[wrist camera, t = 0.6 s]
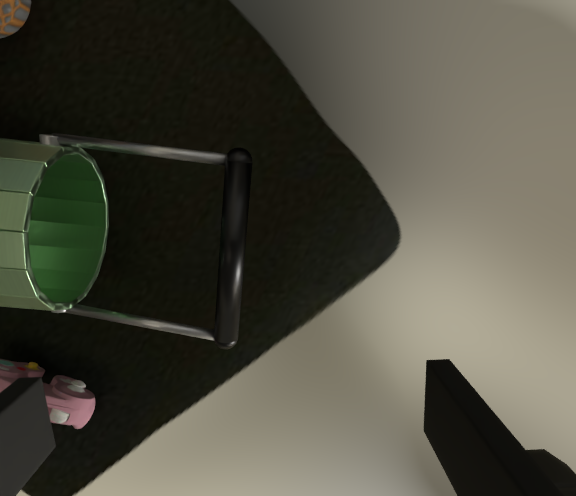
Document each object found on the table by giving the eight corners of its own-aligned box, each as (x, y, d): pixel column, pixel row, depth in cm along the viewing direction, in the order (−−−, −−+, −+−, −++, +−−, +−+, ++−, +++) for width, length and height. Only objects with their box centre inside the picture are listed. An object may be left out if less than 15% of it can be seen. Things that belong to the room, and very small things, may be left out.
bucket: (-146, 346, 22) (232, 374, 23) (-200, 98, 18) (250, 150, 20) (-9, 279, 32) (245, 301, 34) (-26, 115, 29) (258, 147, 30)
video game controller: (112, 379, 37) (95, 395, 30) (89, 426, 36) (66, 453, 29) (10, 342, 35) (-32, 350, 29) (-17, 389, 34) (-67, 410, 28)
